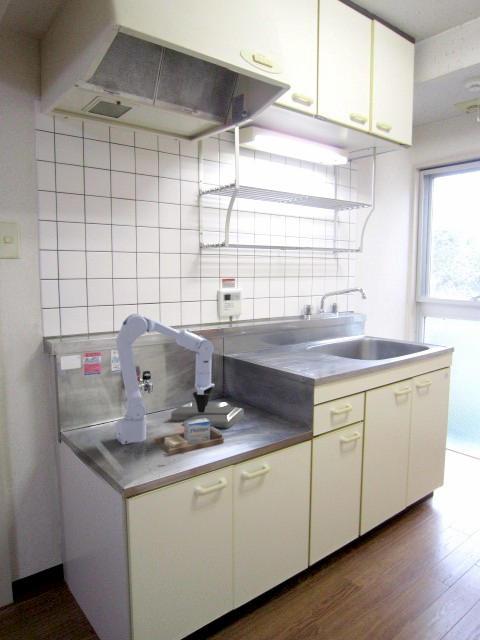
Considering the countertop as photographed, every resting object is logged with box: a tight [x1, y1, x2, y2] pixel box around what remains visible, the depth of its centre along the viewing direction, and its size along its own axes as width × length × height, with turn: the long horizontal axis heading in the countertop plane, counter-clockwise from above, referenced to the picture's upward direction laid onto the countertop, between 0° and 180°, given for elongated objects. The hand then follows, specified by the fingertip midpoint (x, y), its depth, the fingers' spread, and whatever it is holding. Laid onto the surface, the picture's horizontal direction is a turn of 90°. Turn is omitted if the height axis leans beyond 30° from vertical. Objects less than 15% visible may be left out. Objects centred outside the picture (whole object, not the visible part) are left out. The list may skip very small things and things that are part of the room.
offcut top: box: [164, 435, 188, 449], centre depth 144 cm, size 5×7×2 cm
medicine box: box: [183, 418, 211, 445], centre depth 148 cm, size 8×4×9 cm, turn 117°
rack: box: [153, 427, 225, 456], centre depth 146 cm, size 20×12×4 cm, turn 124°
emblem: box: [170, 401, 245, 429], centre depth 176 cm, size 28×5×28 cm
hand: (202, 408), depth 157 cm, fingers open, 7 cm apart
